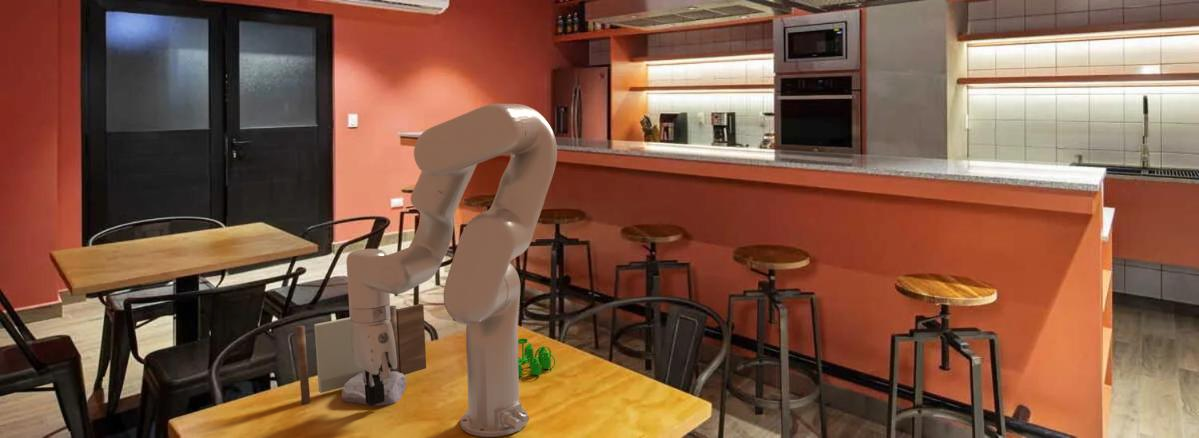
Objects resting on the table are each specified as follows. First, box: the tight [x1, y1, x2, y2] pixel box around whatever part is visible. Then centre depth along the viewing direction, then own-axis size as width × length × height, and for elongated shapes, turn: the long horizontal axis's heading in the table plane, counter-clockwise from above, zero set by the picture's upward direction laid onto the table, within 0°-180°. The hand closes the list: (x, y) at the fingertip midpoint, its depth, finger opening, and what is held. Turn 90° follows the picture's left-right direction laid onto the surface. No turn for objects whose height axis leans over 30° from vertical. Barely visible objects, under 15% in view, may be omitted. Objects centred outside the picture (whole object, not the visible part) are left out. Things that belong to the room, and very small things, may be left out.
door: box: [313, 316, 390, 394], centre depth 147 cm, size 15×1×14 cm, turn 131°
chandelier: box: [518, 338, 556, 377], centre depth 158 cm, size 15×15×7 cm
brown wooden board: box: [295, 303, 427, 405], centre depth 148 cm, size 2×28×16 cm, turn 135°
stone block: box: [341, 371, 407, 407], centre depth 142 cm, size 12×5×10 cm
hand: (375, 402), depth 136 cm, fingers closed
